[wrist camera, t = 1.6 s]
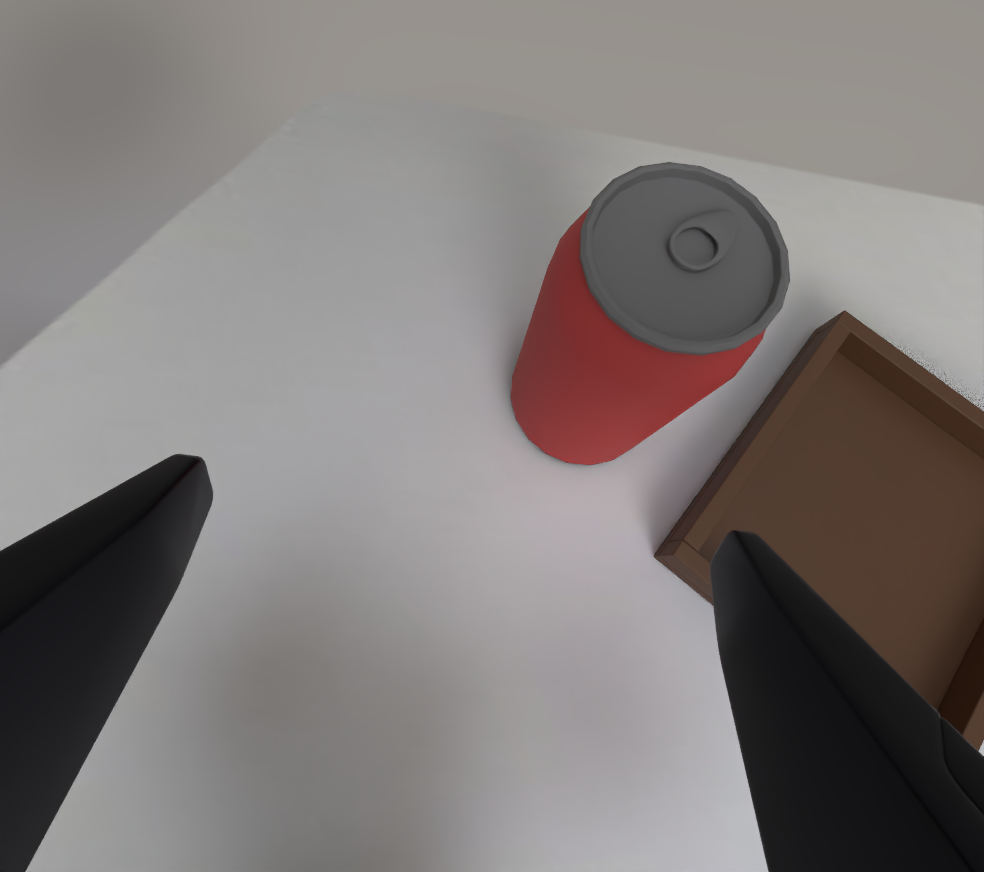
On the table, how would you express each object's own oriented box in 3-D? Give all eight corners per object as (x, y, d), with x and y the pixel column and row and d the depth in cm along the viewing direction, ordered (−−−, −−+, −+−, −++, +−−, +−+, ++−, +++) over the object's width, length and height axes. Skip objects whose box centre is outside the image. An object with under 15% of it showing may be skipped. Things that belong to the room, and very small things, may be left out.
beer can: (675, 409, 26) (861, 271, 14) (574, 497, 24) (690, 424, 13) (582, 309, 27) (685, 104, 15) (479, 388, 25) (507, 228, 14)
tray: (914, 770, 23) (960, 790, 20) (652, 556, 24) (671, 554, 22) (1050, 502, 26) (1100, 496, 24) (815, 329, 27) (845, 309, 25)
